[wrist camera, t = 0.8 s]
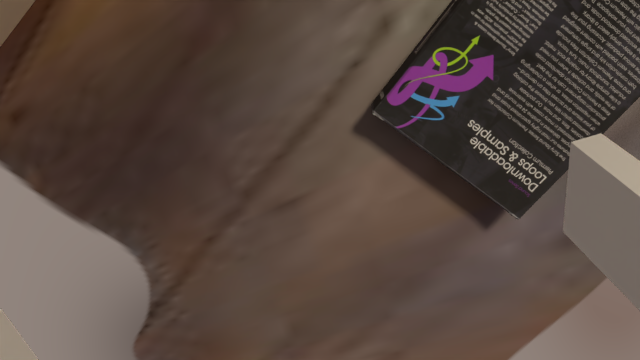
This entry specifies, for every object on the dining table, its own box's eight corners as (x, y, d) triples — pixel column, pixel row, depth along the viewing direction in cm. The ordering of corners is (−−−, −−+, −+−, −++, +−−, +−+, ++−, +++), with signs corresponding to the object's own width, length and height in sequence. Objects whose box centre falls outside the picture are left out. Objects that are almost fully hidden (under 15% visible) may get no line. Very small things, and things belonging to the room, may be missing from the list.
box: (556, -138, 36) (366, 102, 42) (578, -148, 33) (369, 113, 39) (702, -1, 39) (504, 206, 45) (736, 2, 36) (518, 225, 41)
